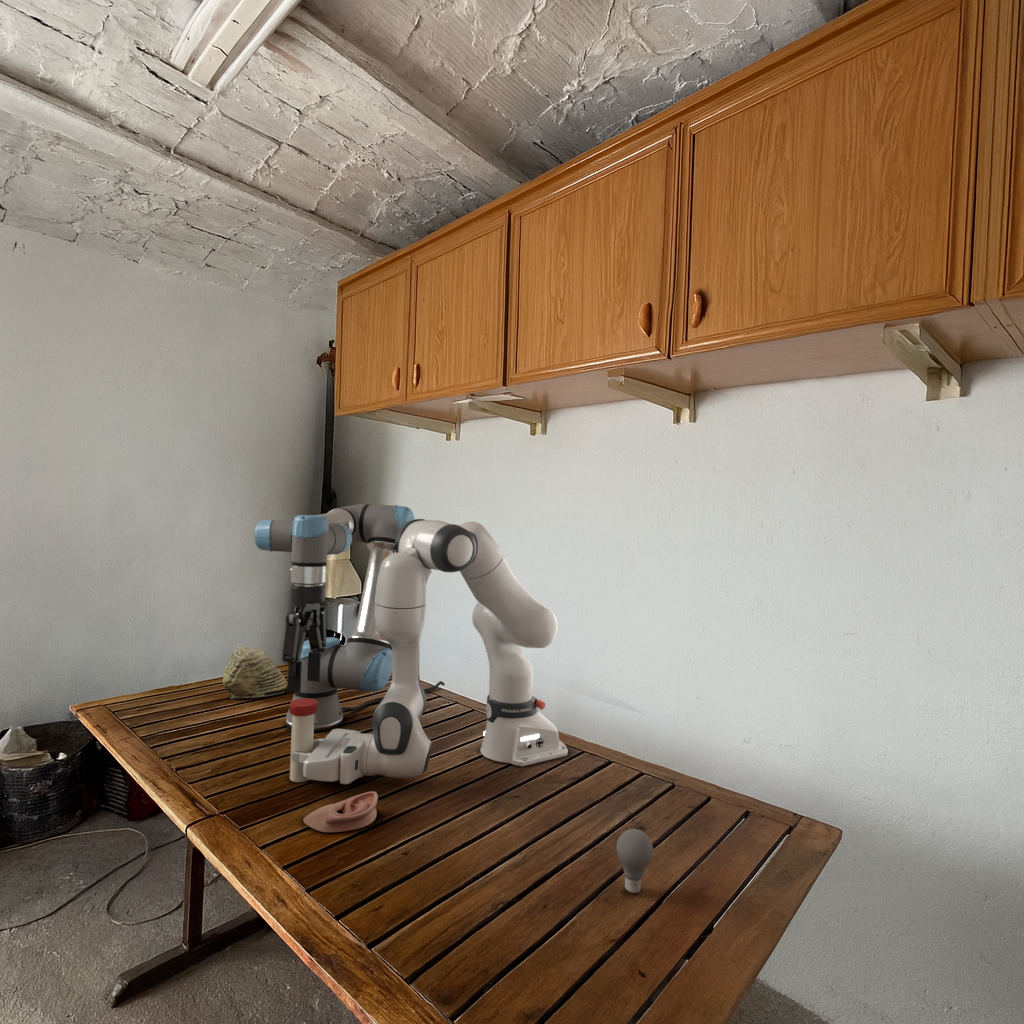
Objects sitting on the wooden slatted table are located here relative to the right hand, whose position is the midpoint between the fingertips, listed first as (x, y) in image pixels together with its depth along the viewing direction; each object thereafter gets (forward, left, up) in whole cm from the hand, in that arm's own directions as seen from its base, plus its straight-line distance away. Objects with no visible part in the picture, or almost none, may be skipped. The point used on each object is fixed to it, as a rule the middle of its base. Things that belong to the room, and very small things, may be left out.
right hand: (297, 750), depth 142 cm
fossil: (+8, -64, -6) cm, 65 cm away
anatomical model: (-7, +22, -6) cm, 24 cm away
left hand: (-1, 0, +15) cm, 15 cm away
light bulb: (-49, +60, -6) cm, 78 cm away
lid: (-1, 0, +10) cm, 11 cm away
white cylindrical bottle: (-1, 0, -6) cm, 6 cm away
